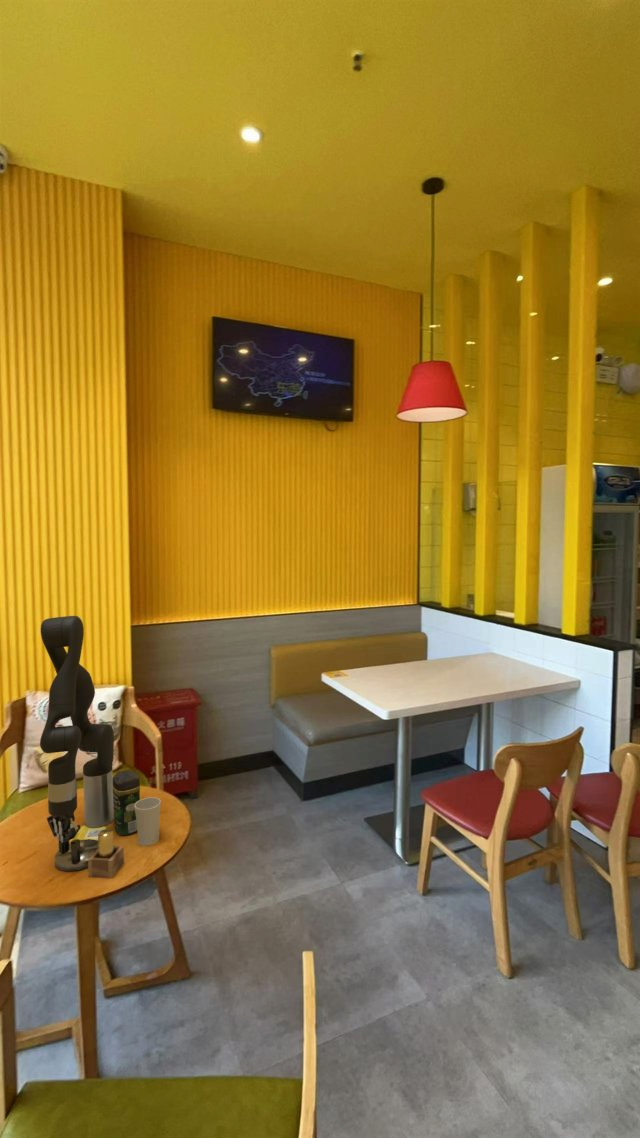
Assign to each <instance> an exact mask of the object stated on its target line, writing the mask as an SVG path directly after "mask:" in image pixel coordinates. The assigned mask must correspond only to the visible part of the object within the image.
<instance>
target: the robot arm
mask: <svg viewBox="0 0 640 1138" xmlns="http://www.w3.org/2000/svg"><path fill="white" fill-rule="evenodd" d="M83 623H84V622H83V621H82V619H81V617H80V616H77V615H68V616H57V617H49V618H46V619H44V620H43V621H42V622H41V624H40V636H41V640H42V643H43V646H44V647H45V649H46V652H47V654H48V656H49V659H50V661H51V663H52V665H53V668H54V670H55V671H54V672H55V673H56V675H55V677H54V679H53V680H52V683H51V685H50V688H49V691H48V711H47V717H46V721H45V725H44V728H43V730H42V733H41V737H40V740H39V747H40V749H41V751H42V752H43V753H45V754H54V753H55V754H56V753H64V752H67V753H66V754H64V755H62V756H59V757H56V758H54V759H52V760H51V761H50V762H49V763H48V768H47V769H48V770H47V772H48V773H47V774H48V775H47V776H48V785H47V802H48V804H47V805H48V806H47V808H48V814H49V816H47V817H46V821H47V823H48V826H49V828H50V831H51V833H52V835H53V837H54V838H55V837H56V840H57V841H58V850H59V852H60V853H62V854H64V853H66V852H68V851H69V843H70V841H72V840H74V839H75V837H76V836H77V834H78V833H79V831H80V830H81V824H76V822H75V821H76V817H75V815H74V814H75V811H76V810H77V808H78V787H77V786H78V783H77V779H76V778H77V777H76V775H77V774H76V762H77V761H76V760H77V756H78V751H81V752H84V753H97V754H96V757H95V758H93V759H89V760H88V761H86V762H85V763H84V764H83V766H82V777H83V778H82V780H83V806H84V807H83V809H84V813H83V814H84V825H85V826H86V827H89V828H100V827H104V826H106V825H109V824H110V823H112V822H114V805H113V777H114V776H113V763H114V755H115V754H114V750H115V749H114V747H115V745H114V743H115V733H114V728H113V726H112V725H111V724H108V723H92V722H91V721H90V718H89V715H88V713H89V709H90V708H91V706H92V704H93V701H94V698H95V696H96V692H95V691H96V690H95V685H94V683H93V678H92V675H91V673H90V672H89V671H88V669H86V668H85V667H84V666H83V665H81V664H80V661H81V657H82V649H83V643H84V637H85V634H84V633H85V632H84V631H85V630H84V628H85V627H84V624H83ZM66 647H67V648H68V649H67V650H66V649H65V648H66ZM68 718H70V721H71V724H72V725H65V726H64V725H63V726H56V725H57V724H58V722H60V721H61V720H64V719H68Z"/></svg>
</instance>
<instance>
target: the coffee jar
mask: <svg viewBox="0 0 640 1138" xmlns="http://www.w3.org/2000/svg"><path fill="white" fill-rule="evenodd" d="M140 789H141V782H140V777H139V775H138V774H137V773H136V772H135V771H133V770H130V769H125V770H121V771H118V772H116V773H115V774H114V776H113V805H114V819H113V826H114V830H115V831H116V832H117V834H118V835H120V836H127V835H128V836H129V835H131V834H134V833H136V832H138V831H137V822H136V815H135V807H134V805H135V803H136V802H137V801H139V800H141V798H140V797H141V791H140Z"/></svg>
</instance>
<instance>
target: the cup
mask: <svg viewBox="0 0 640 1138" xmlns="http://www.w3.org/2000/svg"><path fill="white" fill-rule="evenodd" d="M161 802H162V800H161V799H160V798H158V797H154V796H153V797H151V796H150V797H145V798H142V799H141V798H140V800H139V801H137V802H136V803H135V805H134V807H135V815H136V822H137V831H136V832H137V837H138V838H137V842H138V844H139V845H141V846H143V847H148V846H152V845H155V844H156V843H158V842H159V840H160V826H161V825H160V821H161V806H162V803H161Z"/></svg>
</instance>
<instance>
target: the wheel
mask: <svg viewBox="0 0 640 1138" xmlns="http://www.w3.org/2000/svg"><path fill="white" fill-rule="evenodd" d="M80 840H81V839H79V838H76V839H75V838H74V839H72V840H70V842H69V851H68V852H66V853H64V854H62V853H60V852H59V849H58V851H57V852H56V853H55V856H54V862H55V863H54V866H55V867H56V868H57V869H58V870H60V871H65V872H73V871H80V870H83V869H87V868H88V859H89V858H90V857H91V856H92V855H93V854H94V853H95V851H96V850H97V849H98V839H91V838H87V839H85V838H84V839H83V840H84V844H85V848H84V849H83V850H81V851H80Z"/></svg>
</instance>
